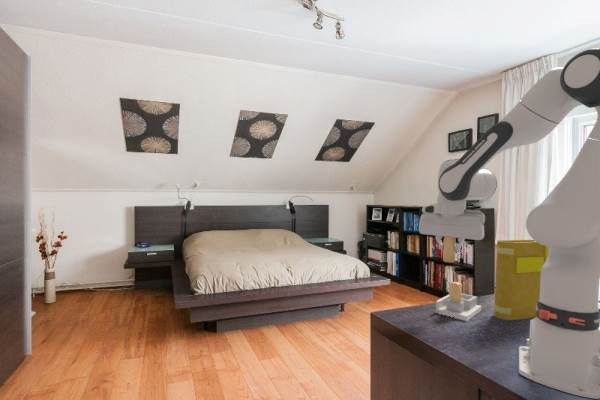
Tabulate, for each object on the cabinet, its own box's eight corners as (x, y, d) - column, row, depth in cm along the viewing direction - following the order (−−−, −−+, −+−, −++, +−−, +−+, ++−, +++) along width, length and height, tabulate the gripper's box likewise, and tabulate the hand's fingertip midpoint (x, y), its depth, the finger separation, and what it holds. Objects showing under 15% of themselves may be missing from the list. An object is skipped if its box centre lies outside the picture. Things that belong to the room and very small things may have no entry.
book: (526, 310, 123) (529, 239, 122) (545, 316, 116) (548, 242, 116) (488, 314, 117) (492, 240, 117) (506, 321, 111) (509, 243, 110)
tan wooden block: (452, 262, 113) (453, 235, 113) (441, 261, 116) (442, 234, 115) (456, 261, 116) (457, 234, 116) (445, 259, 118) (446, 233, 118)
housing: (466, 321, 110) (468, 288, 110) (435, 313, 117) (436, 281, 117) (481, 310, 121) (482, 280, 121) (451, 303, 128) (452, 274, 128)
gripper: (488, 210, 111) (486, 253, 111) (425, 207, 124) (423, 245, 125) (482, 211, 106) (480, 256, 106) (417, 207, 120) (416, 247, 120)
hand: (449, 250), depth 116 cm, fingers closed on tan wooden block, 4 cm apart
